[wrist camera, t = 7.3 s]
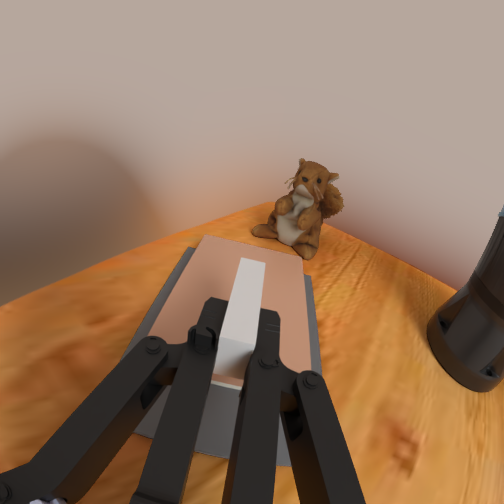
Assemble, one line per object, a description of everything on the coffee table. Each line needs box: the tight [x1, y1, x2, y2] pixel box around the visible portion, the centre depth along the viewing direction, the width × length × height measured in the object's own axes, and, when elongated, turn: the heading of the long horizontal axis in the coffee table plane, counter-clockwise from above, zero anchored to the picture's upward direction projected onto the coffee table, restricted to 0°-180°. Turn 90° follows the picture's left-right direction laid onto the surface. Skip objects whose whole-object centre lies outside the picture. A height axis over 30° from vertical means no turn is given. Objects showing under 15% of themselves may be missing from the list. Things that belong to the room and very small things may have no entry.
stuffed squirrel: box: [252, 158, 344, 260], centre depth 41 cm, size 10×14×13 cm
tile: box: [148, 234, 311, 390], centre depth 25 cm, size 2×12×18 cm
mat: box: [120, 247, 322, 467], centre depth 24 cm, size 24×16×1 cm, turn 174°
